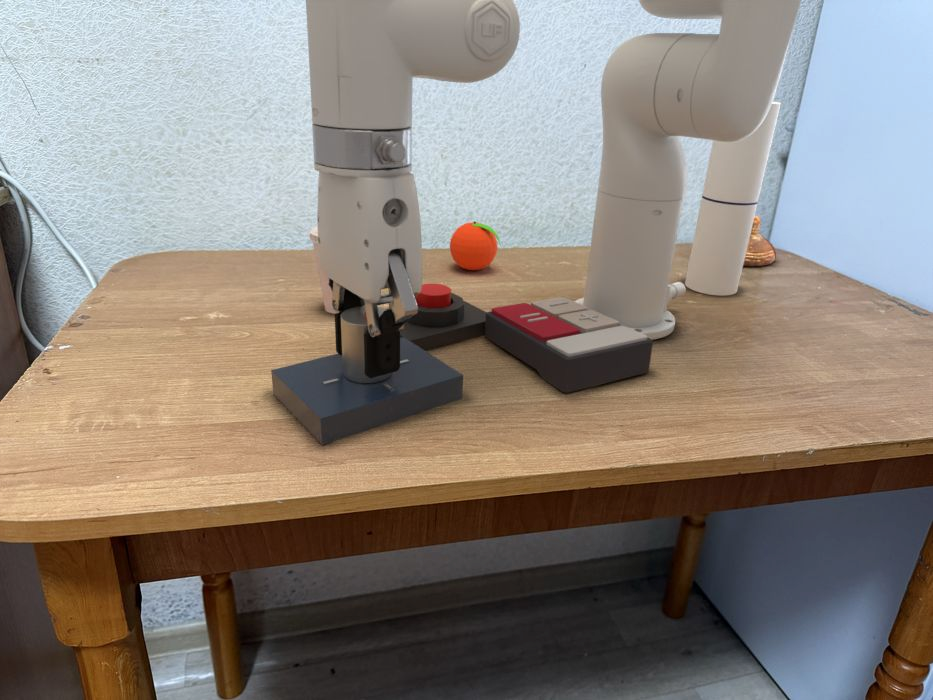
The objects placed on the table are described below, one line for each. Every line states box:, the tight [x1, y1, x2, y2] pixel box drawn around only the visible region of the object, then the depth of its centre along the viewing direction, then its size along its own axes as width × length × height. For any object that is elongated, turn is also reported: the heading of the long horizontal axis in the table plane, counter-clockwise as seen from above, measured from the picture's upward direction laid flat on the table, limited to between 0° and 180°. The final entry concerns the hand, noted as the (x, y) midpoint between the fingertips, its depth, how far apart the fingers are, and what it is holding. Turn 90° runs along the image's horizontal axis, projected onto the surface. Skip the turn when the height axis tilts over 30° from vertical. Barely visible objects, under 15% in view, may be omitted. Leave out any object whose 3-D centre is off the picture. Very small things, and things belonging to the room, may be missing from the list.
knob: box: [341, 305, 392, 383], centre depth 57 cm, size 4×4×6 cm
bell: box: [743, 215, 777, 267], centre depth 106 cm, size 12×12×7 cm
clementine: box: [449, 221, 502, 272], centre depth 93 cm, size 8×7×7 cm
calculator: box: [484, 296, 654, 394], centre depth 68 cm, size 11×4×15 cm
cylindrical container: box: [684, 101, 782, 297], centre depth 87 cm, size 7×7×25 cm
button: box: [415, 283, 452, 308], centre depth 72 cm, size 4×4×2 cm
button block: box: [385, 292, 488, 351], centre depth 73 cm, size 12×9×4 cm
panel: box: [270, 337, 464, 446], centre depth 58 cm, size 14×10×3 cm
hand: (367, 360), depth 57 cm, fingers closed on knob, 4 cm apart
